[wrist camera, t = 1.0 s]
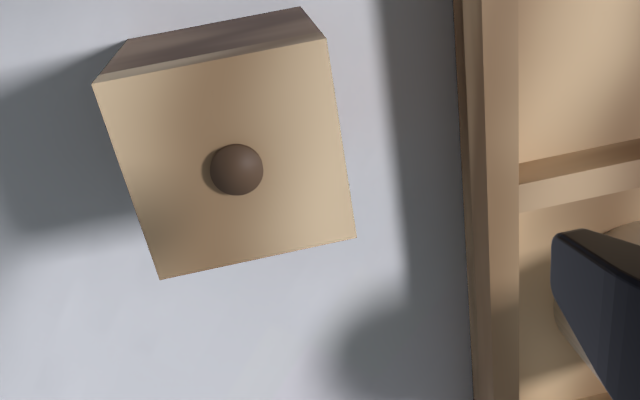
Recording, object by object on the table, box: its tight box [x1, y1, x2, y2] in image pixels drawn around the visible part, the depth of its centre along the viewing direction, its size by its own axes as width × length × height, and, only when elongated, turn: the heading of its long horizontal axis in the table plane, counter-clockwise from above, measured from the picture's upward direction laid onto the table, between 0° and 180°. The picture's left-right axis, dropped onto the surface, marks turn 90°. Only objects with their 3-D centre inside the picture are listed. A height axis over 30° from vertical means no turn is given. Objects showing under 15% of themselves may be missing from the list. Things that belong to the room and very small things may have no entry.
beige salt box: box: [91, 7, 357, 280], centre depth 15 cm, size 5×5×5 cm
